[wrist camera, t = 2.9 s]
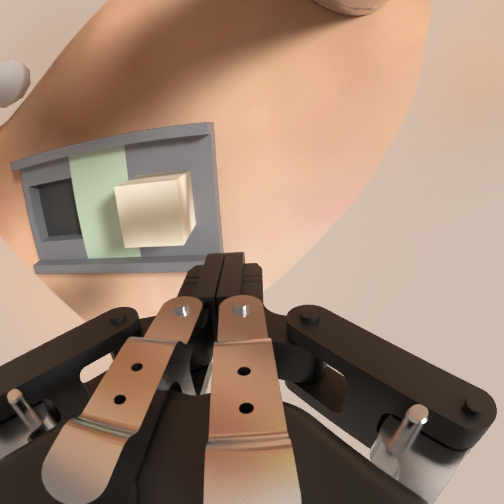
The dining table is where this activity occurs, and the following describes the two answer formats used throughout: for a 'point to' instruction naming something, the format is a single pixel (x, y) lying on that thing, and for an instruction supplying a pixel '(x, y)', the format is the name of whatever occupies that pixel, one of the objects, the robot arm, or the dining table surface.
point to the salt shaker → (13, 81)
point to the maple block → (156, 209)
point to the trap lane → (104, 200)
